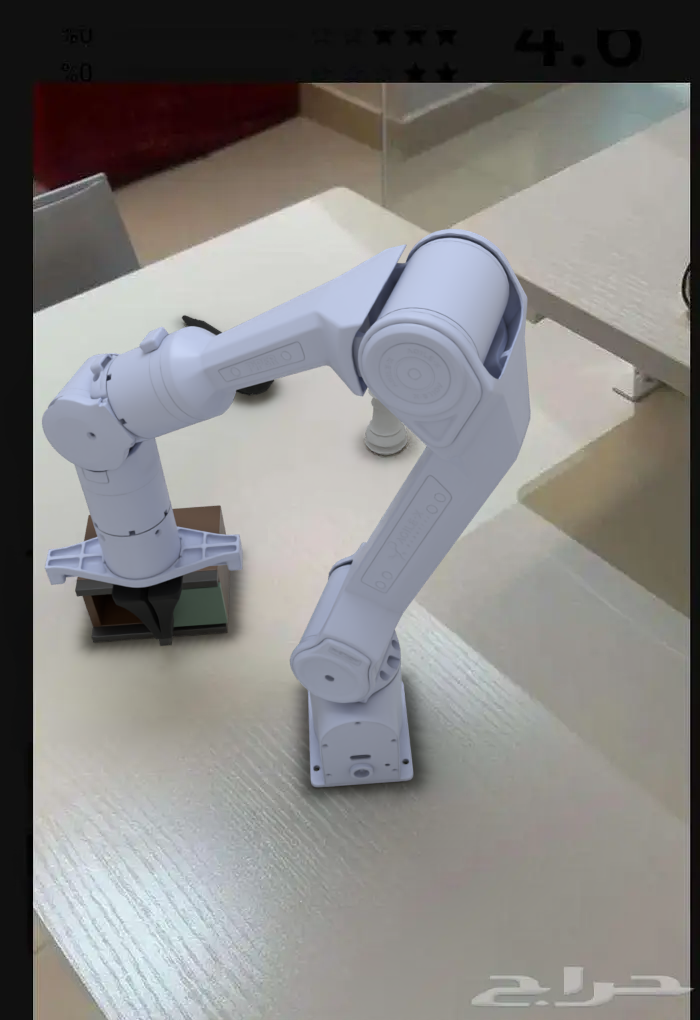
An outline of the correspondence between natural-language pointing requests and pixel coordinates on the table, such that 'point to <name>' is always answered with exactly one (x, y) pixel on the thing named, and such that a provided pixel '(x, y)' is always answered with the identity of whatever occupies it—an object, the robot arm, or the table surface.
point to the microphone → (202, 324)
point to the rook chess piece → (384, 430)
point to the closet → (127, 626)
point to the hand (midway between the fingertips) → (164, 629)
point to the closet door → (199, 608)
